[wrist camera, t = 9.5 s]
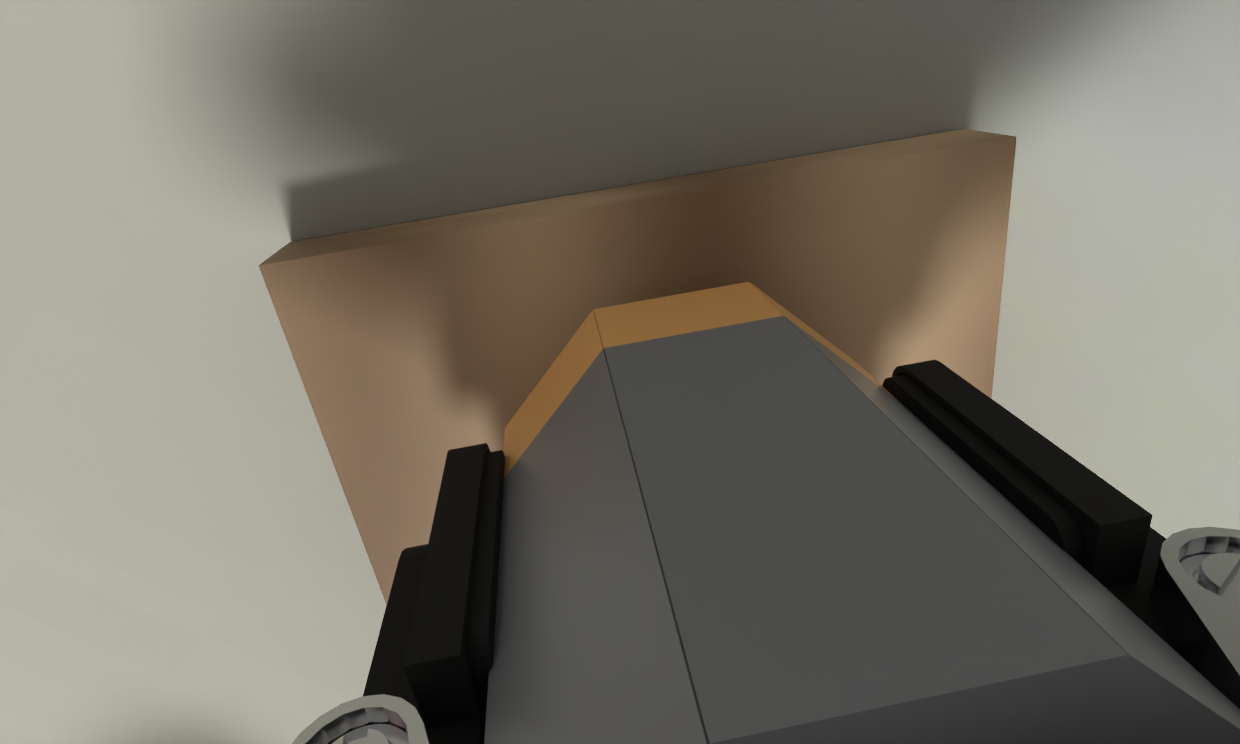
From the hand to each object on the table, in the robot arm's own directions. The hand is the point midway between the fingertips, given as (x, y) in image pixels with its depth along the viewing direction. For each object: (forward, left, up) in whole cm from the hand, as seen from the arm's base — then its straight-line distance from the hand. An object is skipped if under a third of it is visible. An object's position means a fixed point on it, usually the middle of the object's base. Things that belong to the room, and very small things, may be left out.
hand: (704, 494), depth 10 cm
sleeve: (0, 0, -1) cm, 1 cm away
